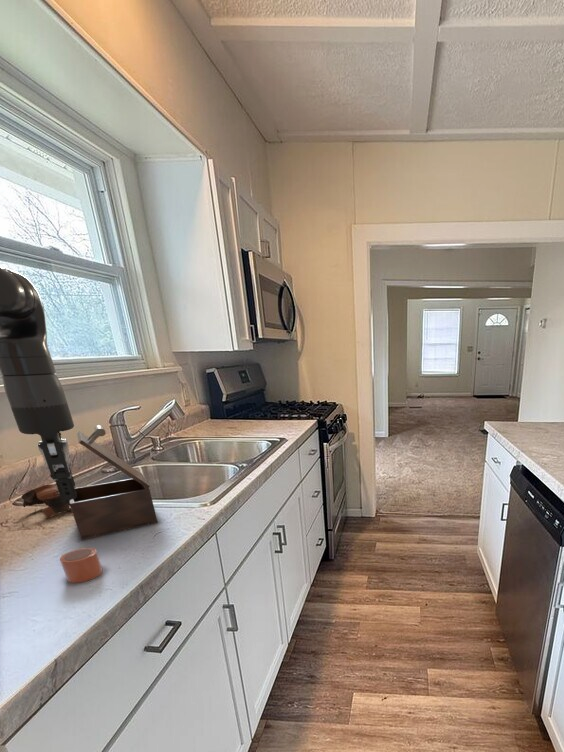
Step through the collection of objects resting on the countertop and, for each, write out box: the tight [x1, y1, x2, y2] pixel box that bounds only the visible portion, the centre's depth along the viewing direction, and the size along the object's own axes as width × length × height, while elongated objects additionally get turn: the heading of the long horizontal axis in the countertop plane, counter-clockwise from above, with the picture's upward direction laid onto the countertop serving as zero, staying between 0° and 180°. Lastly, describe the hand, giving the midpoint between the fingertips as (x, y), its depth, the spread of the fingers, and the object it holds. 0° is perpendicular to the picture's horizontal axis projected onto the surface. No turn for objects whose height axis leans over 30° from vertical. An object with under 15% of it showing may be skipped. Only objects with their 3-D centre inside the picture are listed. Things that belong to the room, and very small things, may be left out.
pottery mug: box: [21, 483, 76, 518], centre depth 107 cm, size 12×10×8 cm
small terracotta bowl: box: [59, 547, 103, 584], centre depth 76 cm, size 6×6×4 cm
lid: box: [76, 424, 151, 489], centre depth 96 cm, size 16×13×5 cm
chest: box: [69, 478, 159, 540], centre depth 98 cm, size 16×13×9 cm
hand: (69, 493), depth 74 cm, fingers open, 8 cm apart
